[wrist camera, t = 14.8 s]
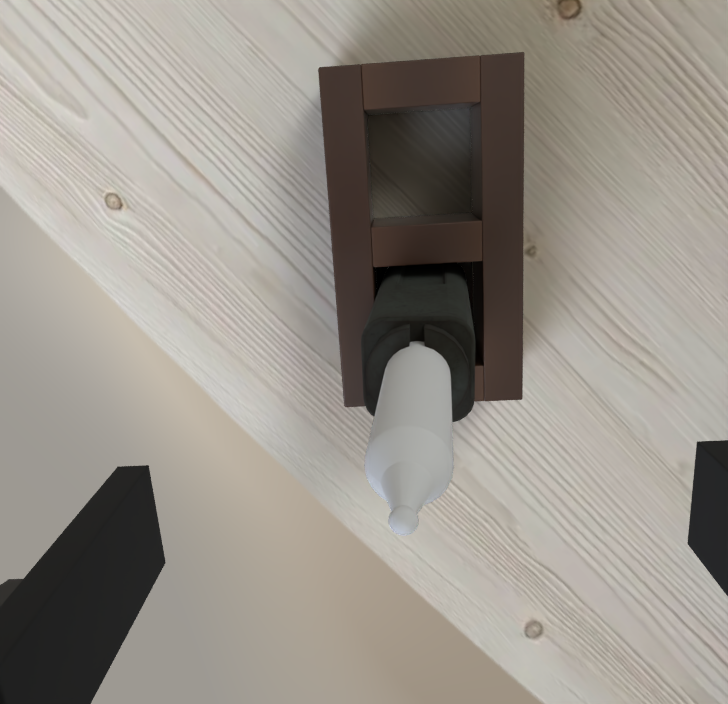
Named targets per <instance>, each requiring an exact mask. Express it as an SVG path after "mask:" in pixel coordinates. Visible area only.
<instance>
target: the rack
mask: <svg viewBox="0 0 728 704" xmlns="http://www.w3.org/2000/svg"><path fill="white" fill-rule="evenodd" d="M318 72H319V85H320V98H321V111H322V123H323V136H324V149H325V162H326V175H327V188H328V201H329V214H330V227H331V240H332V253H333V266H334V279H335V292H336V305H337V318H338V331H339V344H340V357H341V370H342V383H343V396H344V406H345V407H357V406H365V404H364V398H363V378H362V356H361V336H362V333H363V331H364V328H365V325H366V323H367V320H368V317H369V315H370V312H371V309H372V307H373V304H374V301H375V299H376V296H377V293H378V289H377V272H376V267H388V266H406V265H424V264H442V263H459V262H473V320H474V334H475V400H474V401H499V400H522V378H523V197H524V52H519V53H505V54H492V55H481V56H479V55H478V56H465V57H451V58H438V59H424V60H411V61H397V62H384V63H370V64H362V65H359V64H358V65H345V66H331V67H320V68H319V69H318ZM463 108H470V138H471V199H472V213H457V214H441V215H424V216H408V217H391V218H375V219H374V220H373V204H372V187H371V170H370V152H369V135H368V118H367V115H377V114H391V113H405V112H420V111H434V110H448V109H463Z"/></svg>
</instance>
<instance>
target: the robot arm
mask: <svg viewBox="0 0 728 704" xmlns="http://www.w3.org/2000/svg"><path fill="white" fill-rule="evenodd" d="M688 545H689V546H690V548H691V549H692V550H693V551H694V553H695V554H696V555H697V557H698V558H699V559H700V561H701V562H702V563H703V565H704V566H705V567H706V568H707V570H708V571H709V572H710V574H711V575H712V576H713V578H714V579H715V580H716V582H717V583H718V584H719V585H720V587H721V588H722V589H723V591H724V592H725V593H726V595H727V596H728V440H725V441H702V442H697V448H696V459H695V469H694V480H693V491H692V502H691V513H690V524H689V535H688ZM164 564H165V557H164V551H163V546H162V540H161V534H160V528H159V523H158V517H157V512H156V506H155V500H154V494H153V488H152V483H151V477H150V471H149V466H148V465H147V466H124V467H117V468H116V470H115V471H114V472H113V473H112V474H111V476H110V477H109V478H108V479H107V480H106V481H105V483H104V484H103V485H102V486H101V488H100V489H99V490H98V491H97V492H96V493H95V495H94V496H93V497H92V498H91V499H90V500H89V502H88V503H87V504H86V505H85V506H84V508H83V509H82V510H81V511H80V512H79V514H78V515H77V516H76V517H75V518H74V519H73V521H72V522H71V523H70V524H69V526H68V527H67V528H66V529H65V530H64V531H63V533H62V534H61V535H60V536H59V537H58V538H57V540H56V541H55V542H54V543H53V544H52V546H51V547H50V548H49V549H48V551H47V552H46V553H45V554H44V555H43V556H42V558H41V559H40V560H39V561H38V562H37V563H36V565H35V566H34V567H33V568H32V569H31V571H30V572H29V573H28V574H27V575H26V577H25V578H24V579H9V580H7V581H6V582H4V583H3V584H1V585H0V704H91V702H92V700H93V698H94V696H95V694H96V692H97V690H98V689H99V686H100V685H101V683H102V681H103V679H104V677H105V675H106V673H107V671H108V670H109V668H110V666H111V664H112V662H113V660H114V658H115V657H116V655H117V653H118V651H119V649H120V647H121V645H122V643H123V641H124V640H125V638H126V636H127V634H128V632H129V630H130V628H131V626H132V625H133V623H134V621H135V619H136V617H137V615H138V613H139V611H140V609H141V608H142V606H143V604H144V602H145V600H146V598H147V596H148V594H149V593H150V591H151V589H152V587H153V585H154V583H155V581H156V579H157V577H158V575H159V574H160V572H161V570H162V568H163V566H164Z"/></svg>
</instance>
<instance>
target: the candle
mask: <svg viewBox="0 0 728 704" xmlns="http://www.w3.org/2000/svg"><path fill="white" fill-rule="evenodd" d="M361 356H362V378H363V398H364V404H365V406H366V408H367V410H368V411H369V412H370V414H371V415H373V416H374V420H373V425H372V429H371V433H370V438H369V442H368V446H367V451H366V455H365V465H364V466H365V471H366V476H367V479H368V481H369V483H370V485H371V487H372V488H373V489H374V491H375V492H376V493H377V494H378V495H379V496H381V497H382V498H383V499H385V500H386V501H387V502H388V504H389V507H390V509H391V511H392V512H391V513H390V515H389V521H388V522H389V525H390V527H391V529H392V530H393V532H395V533H396V534H399V535H409V534H411V533H413V532H414V531H415V530H416V529H417V526H418V521H419V520H418V516H417V514H418V512H419V511H420V509H421V508H422V507H423V505H425V504H428V503H431V502H432V501H434V500H435V499H437V498H439V497H440V496H441V495H442V494H443V493H444V491H445V490H446V489H447V487H448V485H449V483H450V481H451V479H452V475H453V469H454V458H453V428H452V422H455V421H458V420H461V419H462V418H464V417H465V416H467V415H468V413H469V412H470V411H471V409H472V407H473V405H474V400H475V334H474V328H473V321H472V314H471V308H470V301H469V294H468V288H467V281H466V275H465V272H464V269H463V268H462V267H461V265H460V264H458V263H442V264H424V265H406V266H389V267H388V269H387V270H386V272H385V275H384V277H383V280H382V283H381V285H380V288H379V291H378V293H377V296H376V299H375V301H374V304H373V307H372V309H371V312H370V315H369V317H368V320H367V323H366V325H365V328H364V331H363V333H362V336H361Z"/></svg>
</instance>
